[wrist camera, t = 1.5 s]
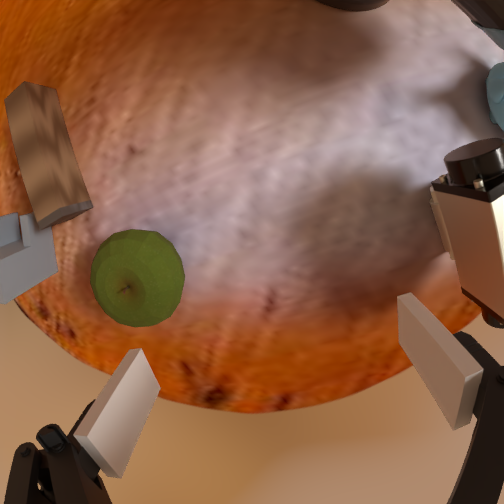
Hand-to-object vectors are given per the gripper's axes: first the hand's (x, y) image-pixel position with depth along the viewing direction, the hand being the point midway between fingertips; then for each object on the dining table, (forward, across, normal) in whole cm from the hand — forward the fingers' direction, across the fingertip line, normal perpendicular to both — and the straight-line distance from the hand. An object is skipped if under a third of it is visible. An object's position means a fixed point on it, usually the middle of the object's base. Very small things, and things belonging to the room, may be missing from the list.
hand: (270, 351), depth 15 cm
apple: (+22, -14, +1) cm, 27 cm away
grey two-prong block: (+22, -33, +8) cm, 40 cm away
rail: (+22, -23, +18) cm, 37 cm away
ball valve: (+23, +23, -2) cm, 33 cm away
